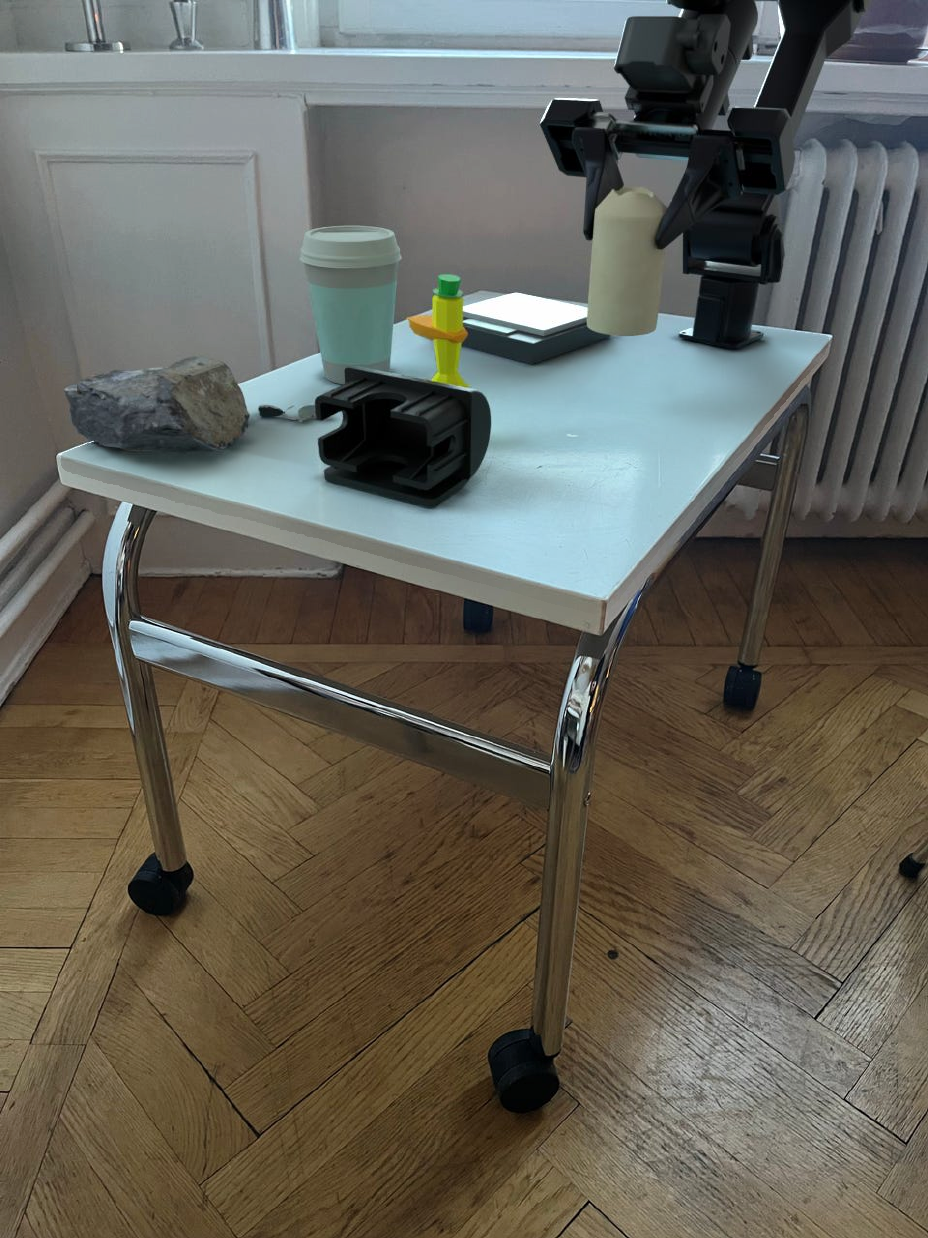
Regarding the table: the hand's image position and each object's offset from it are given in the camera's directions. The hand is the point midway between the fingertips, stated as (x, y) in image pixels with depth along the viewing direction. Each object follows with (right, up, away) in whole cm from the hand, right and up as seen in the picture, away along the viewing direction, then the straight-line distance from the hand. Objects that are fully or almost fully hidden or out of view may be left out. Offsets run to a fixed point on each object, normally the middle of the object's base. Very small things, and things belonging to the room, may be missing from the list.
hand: (621, 241), depth 67 cm
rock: (-37, -16, 0) cm, 40 cm away
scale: (-6, +1, +26) cm, 26 cm away
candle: (+1, -5, +5) cm, 7 cm away
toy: (-27, -12, +4) cm, 30 cm away
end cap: (-16, -18, -4) cm, 24 cm away
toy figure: (-13, -14, +2) cm, 20 cm away
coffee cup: (-21, -6, +15) cm, 27 cm away
